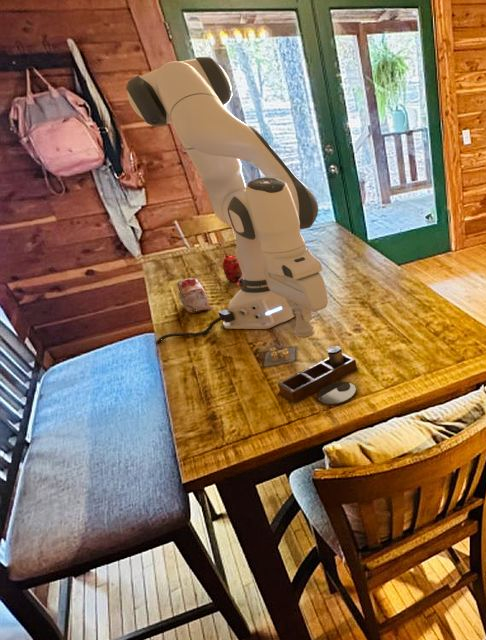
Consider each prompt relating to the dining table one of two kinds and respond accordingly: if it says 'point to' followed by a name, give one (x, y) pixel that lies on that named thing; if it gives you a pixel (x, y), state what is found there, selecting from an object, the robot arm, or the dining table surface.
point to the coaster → (337, 393)
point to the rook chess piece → (302, 324)
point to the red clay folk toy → (231, 266)
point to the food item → (193, 295)
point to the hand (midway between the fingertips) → (302, 317)
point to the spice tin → (335, 356)
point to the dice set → (279, 356)
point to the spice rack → (317, 383)
